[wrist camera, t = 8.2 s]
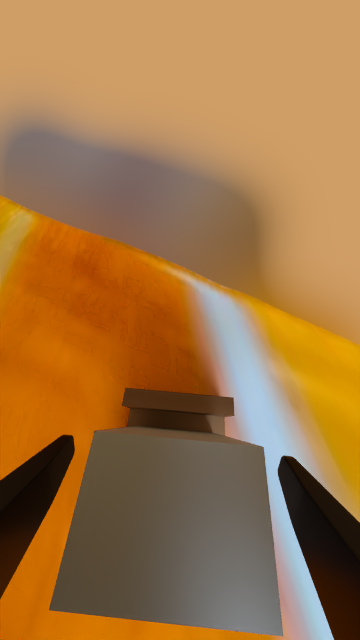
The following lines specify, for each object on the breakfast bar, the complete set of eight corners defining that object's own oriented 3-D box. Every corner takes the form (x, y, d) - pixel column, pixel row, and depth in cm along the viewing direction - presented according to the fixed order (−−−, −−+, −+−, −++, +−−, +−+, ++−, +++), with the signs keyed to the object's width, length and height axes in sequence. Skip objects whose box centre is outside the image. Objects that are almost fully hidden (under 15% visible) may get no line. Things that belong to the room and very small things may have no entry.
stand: (224, 541, 13) (241, 582, 10) (110, 529, 13) (88, 566, 10) (222, 402, 17) (233, 397, 14) (134, 394, 17) (125, 387, 14)
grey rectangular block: (212, 497, 14) (283, 636, 5) (129, 488, 14) (49, 610, 5) (212, 432, 16) (263, 447, 7) (139, 425, 16) (94, 430, 7)
